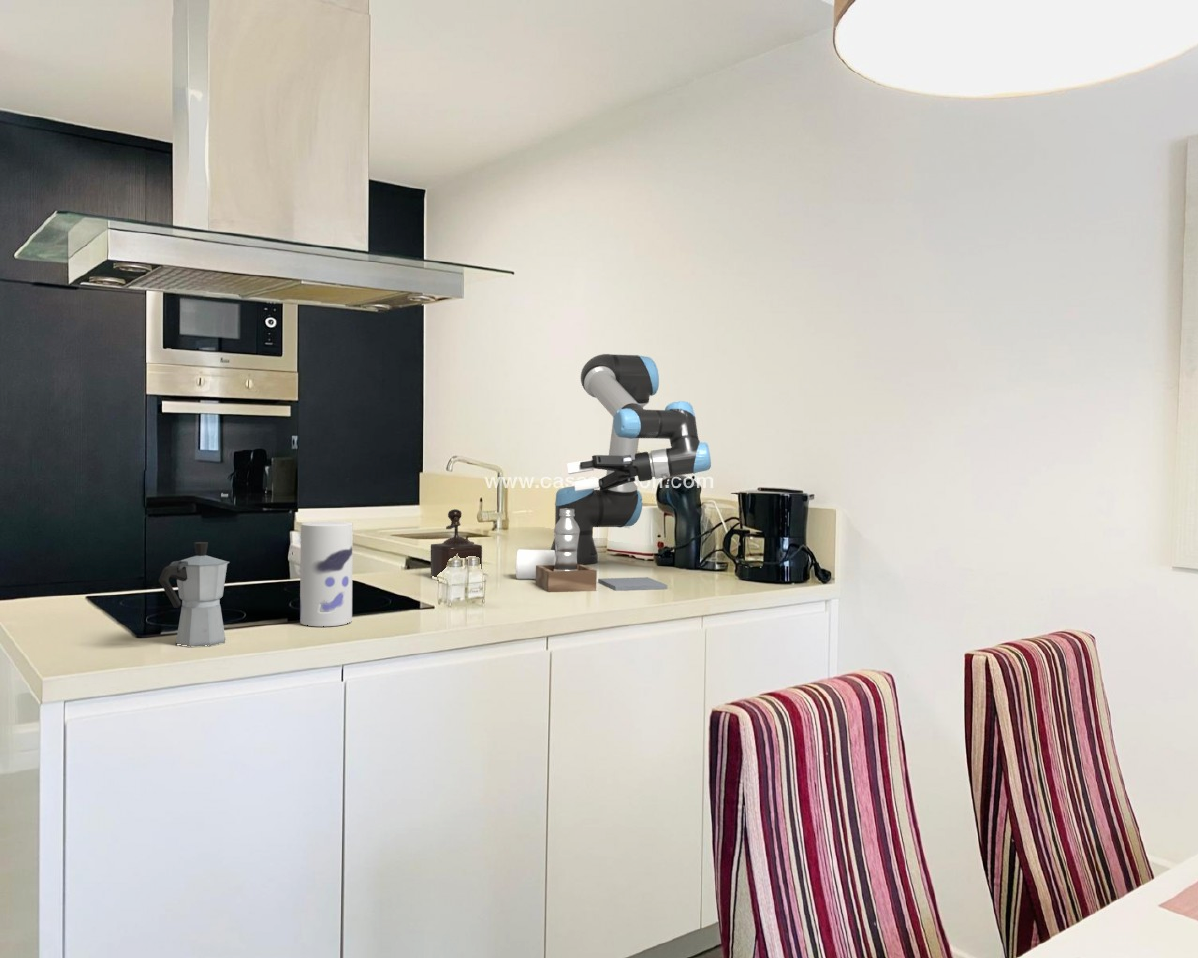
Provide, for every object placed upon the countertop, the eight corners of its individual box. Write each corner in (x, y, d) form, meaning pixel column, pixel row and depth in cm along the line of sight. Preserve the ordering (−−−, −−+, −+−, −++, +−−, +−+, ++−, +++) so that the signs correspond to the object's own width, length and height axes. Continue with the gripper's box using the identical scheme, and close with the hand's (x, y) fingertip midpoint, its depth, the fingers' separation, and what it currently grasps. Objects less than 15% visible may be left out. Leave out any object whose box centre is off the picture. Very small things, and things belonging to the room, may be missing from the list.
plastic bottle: (548, 586, 247) (549, 508, 247) (573, 585, 250) (574, 507, 249) (557, 590, 242) (558, 510, 241) (582, 588, 244) (584, 509, 243)
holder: (535, 584, 250) (536, 565, 250) (581, 583, 254) (582, 564, 253) (548, 592, 238) (548, 571, 238) (596, 590, 242) (596, 570, 242)
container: (324, 629, 187) (325, 526, 186) (289, 623, 192) (289, 522, 192) (362, 621, 196) (363, 522, 195) (327, 616, 201) (328, 519, 200)
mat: (598, 582, 256) (598, 578, 256) (647, 580, 260) (647, 577, 260) (615, 590, 243) (615, 586, 243) (667, 588, 247) (667, 584, 247)
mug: (553, 581, 256) (553, 551, 256) (515, 581, 256) (516, 551, 256) (556, 575, 268) (556, 546, 268) (520, 574, 268) (520, 546, 268)
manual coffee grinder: (485, 580, 256) (486, 512, 255) (447, 583, 249) (448, 513, 249) (457, 573, 268) (458, 508, 268) (420, 576, 262) (421, 509, 261)
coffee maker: (211, 633, 181) (211, 537, 180) (246, 638, 177) (246, 540, 177) (142, 648, 168) (142, 544, 167) (178, 654, 164) (178, 548, 163)
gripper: (650, 461, 241) (566, 474, 242) (655, 494, 264) (579, 506, 265) (646, 434, 243) (563, 447, 245) (651, 468, 267) (575, 480, 268)
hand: (571, 478), depth 255 cm, fingers open, 13 cm apart
